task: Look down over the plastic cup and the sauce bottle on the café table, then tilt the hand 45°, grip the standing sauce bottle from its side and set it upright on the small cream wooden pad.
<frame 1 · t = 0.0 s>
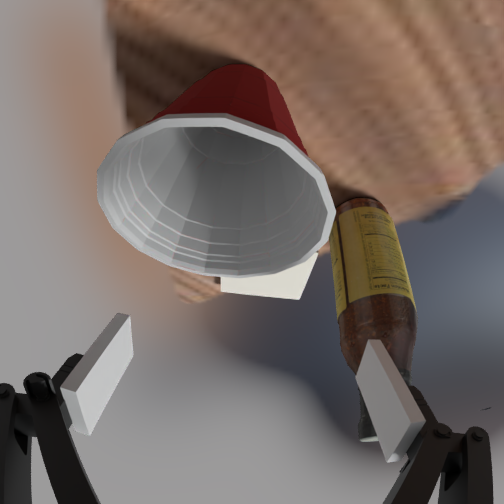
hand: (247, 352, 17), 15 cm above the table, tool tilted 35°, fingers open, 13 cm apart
plastic cup: (239, 100, 21), on the table
cream pad: (265, 267, 37), on the table
sauce bottle: (359, 214, 29), on the table
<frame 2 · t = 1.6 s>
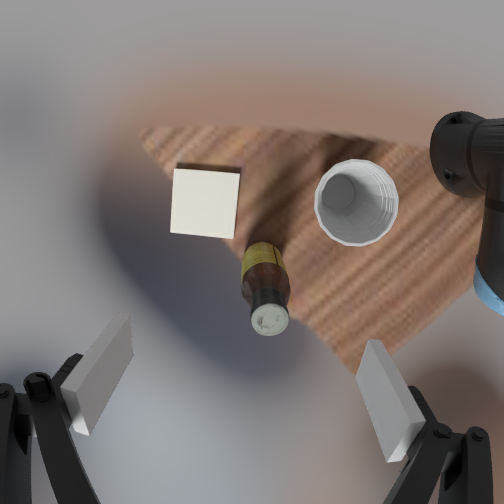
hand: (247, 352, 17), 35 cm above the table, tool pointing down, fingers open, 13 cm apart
plastic cup: (335, 192, 48), on the table
cream pad: (204, 202, 49), on the table
sauce bottle: (263, 258, 52), on the table
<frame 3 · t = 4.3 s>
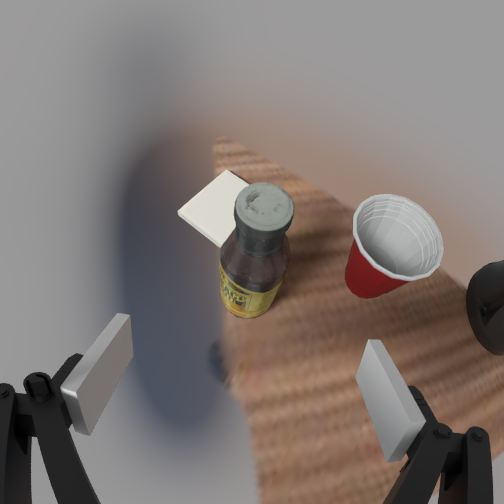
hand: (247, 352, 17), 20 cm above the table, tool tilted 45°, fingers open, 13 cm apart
plastic cup: (362, 278, 41), on the table
cream pad: (229, 212, 45), on the table
sauce bottle: (247, 298, 39), on the table
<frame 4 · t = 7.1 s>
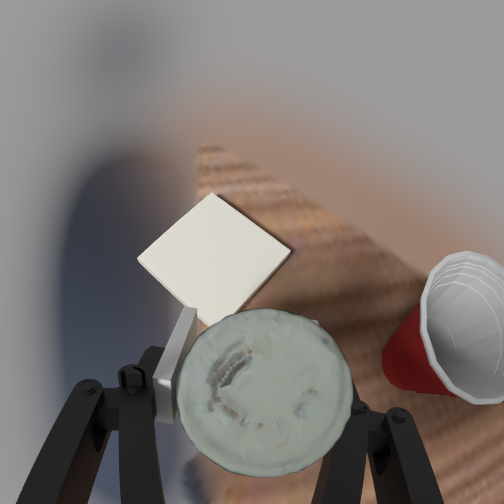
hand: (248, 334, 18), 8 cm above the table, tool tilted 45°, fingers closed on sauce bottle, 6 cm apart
plastic cup: (405, 359, 26), on the table
cream pad: (213, 259, 30), on the table
sauce bottle: (239, 399, 24), on the table, touching gripper
when the fingers open (11 cm above the table, at t = 11.6 s): sauce bottle drops 1 cm, resting on cream pad.
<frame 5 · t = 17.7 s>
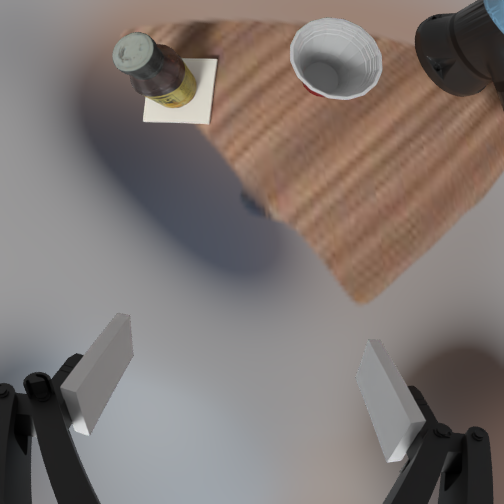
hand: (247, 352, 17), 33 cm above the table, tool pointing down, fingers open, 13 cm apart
plastic cup: (318, 78, 41), on the table
cream pad: (180, 90, 42), on the table
sauce bottle: (179, 90, 41), point 1 cm above the table, touching cream pad
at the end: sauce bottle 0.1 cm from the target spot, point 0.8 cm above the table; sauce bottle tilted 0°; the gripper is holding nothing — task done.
